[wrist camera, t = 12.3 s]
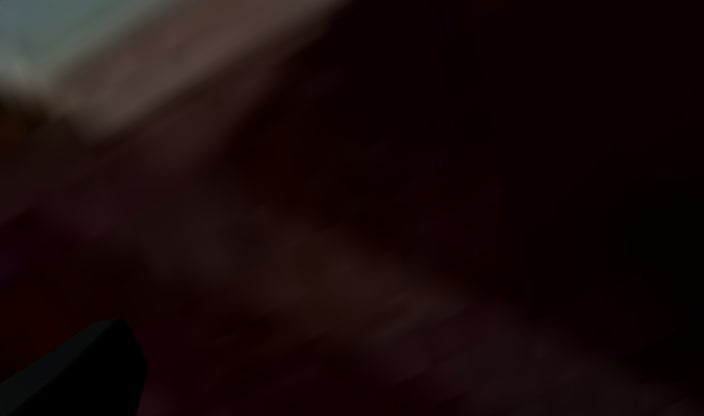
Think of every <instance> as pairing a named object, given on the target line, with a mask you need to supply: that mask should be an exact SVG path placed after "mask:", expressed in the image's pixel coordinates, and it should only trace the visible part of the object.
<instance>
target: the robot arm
mask: <svg viewBox="0 0 704 416" xmlns="http://www.w3.org/2000/svg"><path fill="white" fill-rule="evenodd" d="M146 376H147V363H146V359H145V356H144V354H143V352H142V350H141V348H140V346H139V344H138V342H137V340H136V338H135V336H134V334H133V332H132V330H131V328H130V326H129V325H128V323H126V322H125V321H124V320H122V319H113V320H105V321H98V322H95V323H94V324H92V325H90V326H89V327H87V328H86V329H84V330H83V331H81V332H80V333H78V334H77V335H75V336H74V337H72V338H70V339H69V340H67V341H66V342H64V343H63V344H61V345H60V346H58V347H57V348H55V349H54V350H52V351H51V352H49V353H47V354H46V355H44V356H43V357H41V358H40V359H38V360H37V361H35V362H34V363H32V364H31V365H29V366H28V367H26V368H25V369H23V370H21V371H20V372H18V373H17V374H15V375H14V376H12V377H11V378H9V379H8V380H6V381H5V382H3V383H2V384H0V416H136V413H137V410H138V406H139V402H140V398H141V395H142V391H143V387H144V383H145V380H146Z"/></svg>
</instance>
